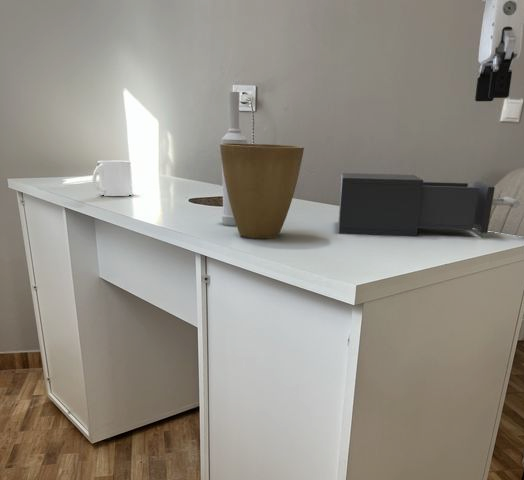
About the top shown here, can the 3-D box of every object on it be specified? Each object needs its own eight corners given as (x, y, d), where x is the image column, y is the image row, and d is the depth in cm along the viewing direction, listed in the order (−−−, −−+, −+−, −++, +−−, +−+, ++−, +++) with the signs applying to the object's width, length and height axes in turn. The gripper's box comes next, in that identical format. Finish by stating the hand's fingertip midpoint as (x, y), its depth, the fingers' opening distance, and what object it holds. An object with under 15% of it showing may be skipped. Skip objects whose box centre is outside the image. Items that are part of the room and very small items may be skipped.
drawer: (501, 224, 115) (508, 182, 112) (518, 234, 104) (527, 188, 101) (406, 221, 117) (411, 179, 114) (413, 230, 106) (419, 184, 103)
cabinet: (408, 225, 118) (414, 174, 114) (416, 236, 106) (423, 180, 102) (338, 223, 119) (341, 173, 116) (338, 233, 108) (342, 177, 104)
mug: (123, 192, 167) (121, 160, 163) (138, 195, 160) (136, 161, 157) (85, 195, 159) (82, 161, 156) (99, 198, 153) (96, 162, 150)
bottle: (229, 221, 119) (228, 93, 110) (251, 223, 117) (252, 92, 108) (217, 224, 115) (215, 91, 105) (239, 226, 112) (239, 91, 103)
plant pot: (233, 244, 95) (233, 145, 89) (212, 230, 108) (210, 142, 102) (313, 240, 100) (317, 146, 94) (283, 227, 113) (286, 143, 107)
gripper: (547, -29, 84) (528, 96, 90) (513, -2, 100) (499, 102, 106) (495, -26, 85) (480, 96, 91) (470, -1, 101) (459, 102, 107)
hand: (490, 99), depth 99 cm, fingers open, 9 cm apart
